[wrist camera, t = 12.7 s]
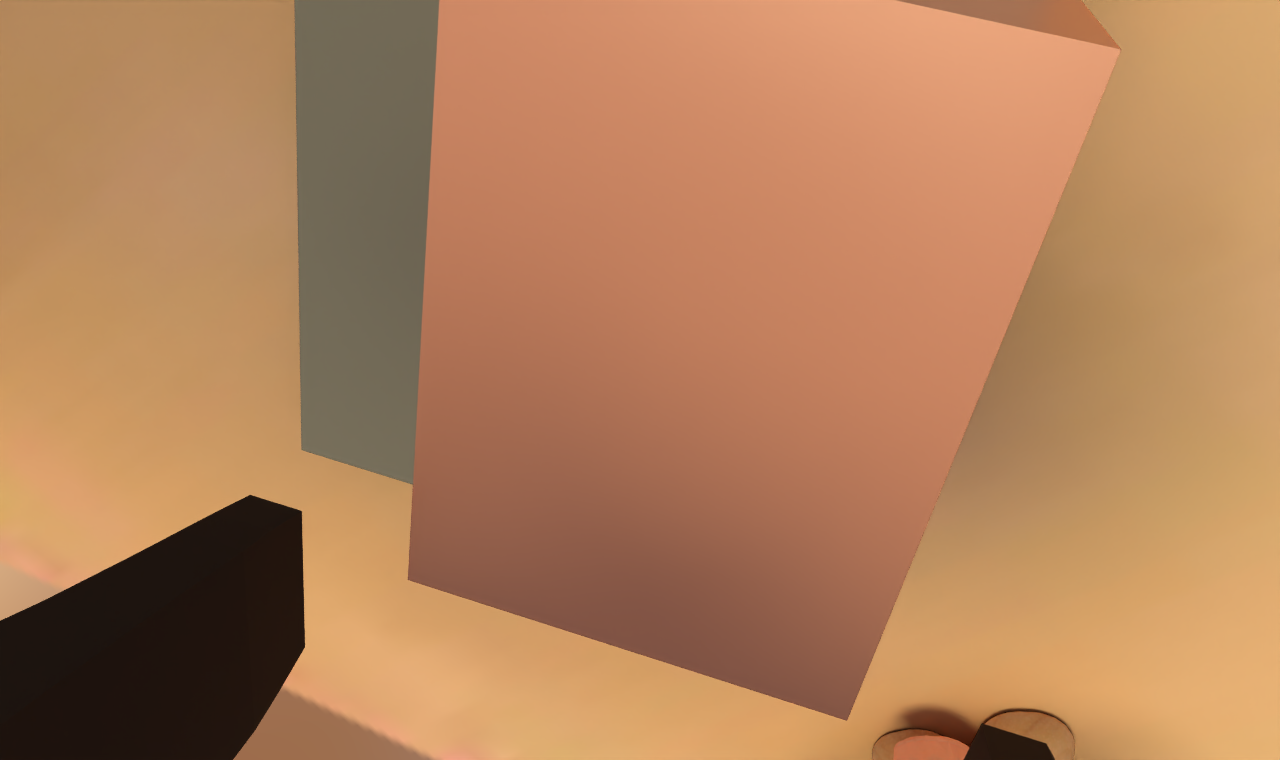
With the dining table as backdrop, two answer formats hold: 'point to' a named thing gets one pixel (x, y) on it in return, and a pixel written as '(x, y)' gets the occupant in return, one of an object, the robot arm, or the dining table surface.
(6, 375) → the dining table surface
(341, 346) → the baseplate
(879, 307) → the terracotta brick
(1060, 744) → the grandmother figurine
